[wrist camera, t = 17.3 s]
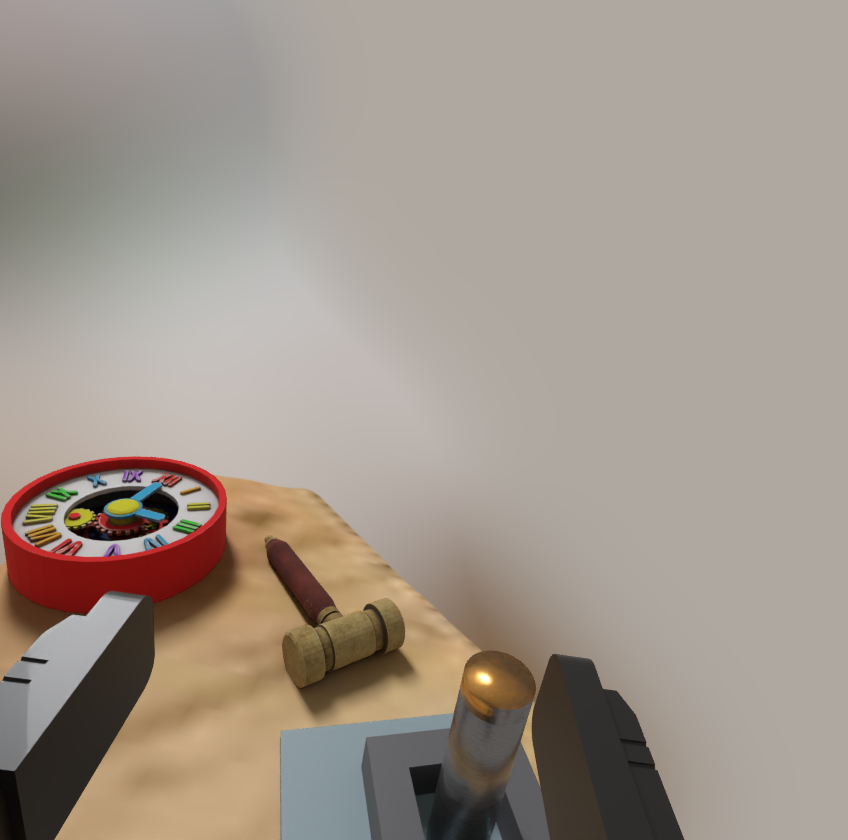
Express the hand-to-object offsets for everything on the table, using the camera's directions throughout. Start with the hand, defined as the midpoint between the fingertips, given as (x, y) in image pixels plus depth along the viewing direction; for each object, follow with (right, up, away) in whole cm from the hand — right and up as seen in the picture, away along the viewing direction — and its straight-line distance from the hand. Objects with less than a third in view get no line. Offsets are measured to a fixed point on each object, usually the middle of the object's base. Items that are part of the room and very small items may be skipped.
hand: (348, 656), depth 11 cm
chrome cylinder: (+4, -22, +25) cm, 33 cm away
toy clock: (-30, -9, +47) cm, 57 cm away
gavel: (-11, -14, +44) cm, 48 cm away
